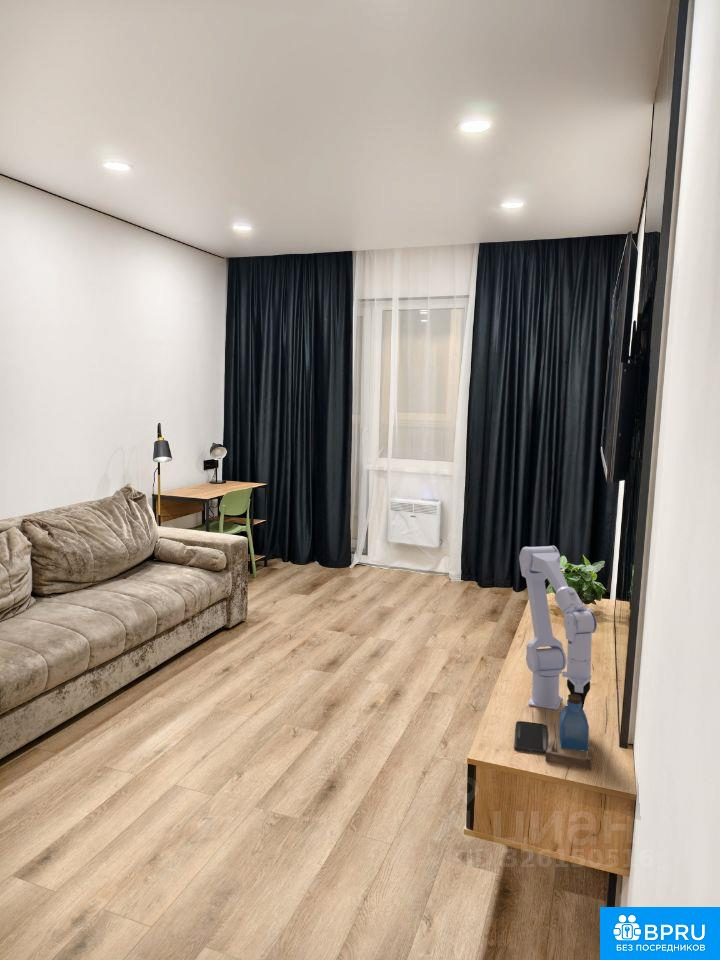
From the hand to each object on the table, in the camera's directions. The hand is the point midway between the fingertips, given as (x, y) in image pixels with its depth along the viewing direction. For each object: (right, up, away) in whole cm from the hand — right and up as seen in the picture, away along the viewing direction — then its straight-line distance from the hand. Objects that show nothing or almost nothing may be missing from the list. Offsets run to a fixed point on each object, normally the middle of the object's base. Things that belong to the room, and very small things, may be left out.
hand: (577, 709), depth 166 cm
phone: (-13, -6, -4) cm, 15 cm away
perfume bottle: (-3, -6, -7) cm, 10 cm away
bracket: (-6, -7, -13) cm, 16 cm away
